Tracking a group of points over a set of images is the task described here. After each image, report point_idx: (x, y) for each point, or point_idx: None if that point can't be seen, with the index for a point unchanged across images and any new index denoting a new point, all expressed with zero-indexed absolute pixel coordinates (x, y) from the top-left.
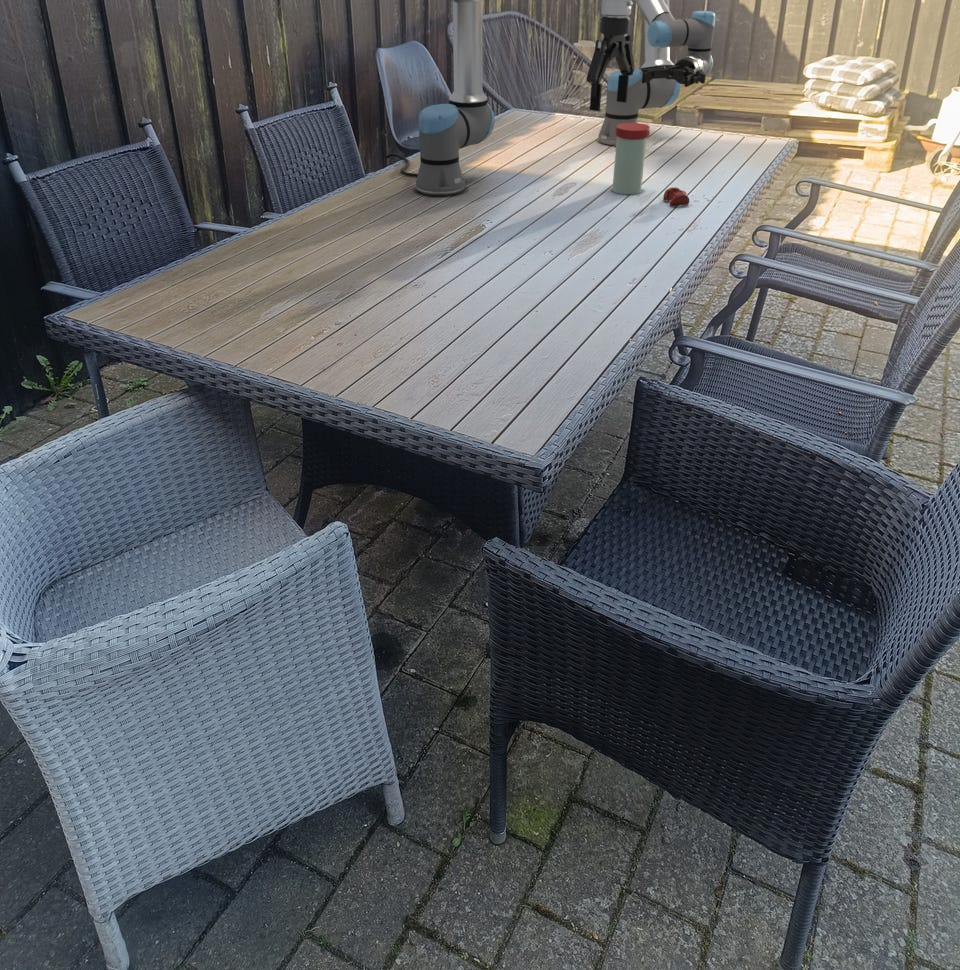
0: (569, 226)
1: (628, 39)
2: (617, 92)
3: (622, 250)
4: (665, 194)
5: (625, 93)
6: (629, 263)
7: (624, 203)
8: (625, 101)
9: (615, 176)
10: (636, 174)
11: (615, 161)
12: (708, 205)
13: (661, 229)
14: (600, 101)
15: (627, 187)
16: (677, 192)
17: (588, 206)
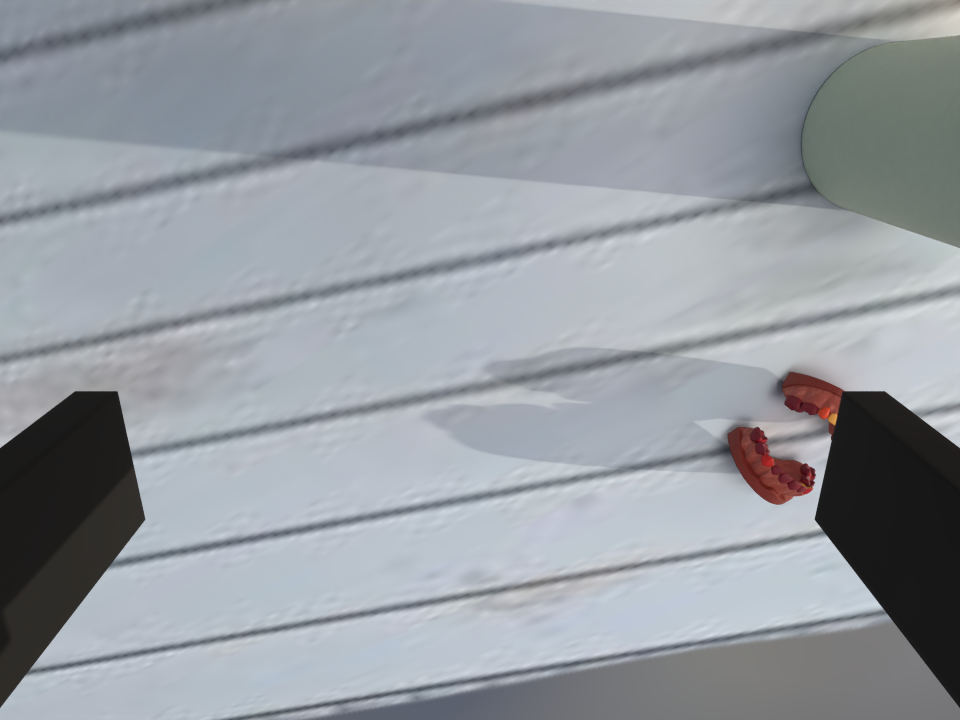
0: (184, 220)
1: None
2: (916, 455)
3: None
4: (803, 389)
5: (881, 593)
6: None
7: (657, 243)
8: (829, 526)
9: (865, 87)
10: (889, 222)
11: (935, 68)
12: None
13: (433, 528)
14: (75, 603)
15: (824, 178)
16: (773, 473)
17: (503, 119)
